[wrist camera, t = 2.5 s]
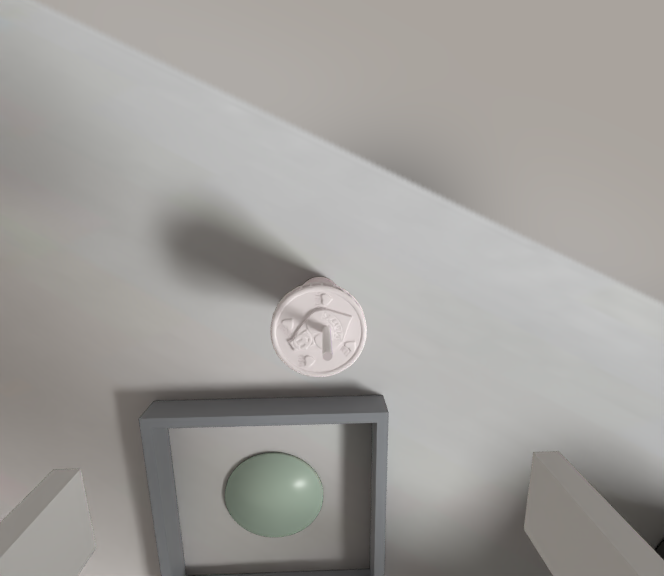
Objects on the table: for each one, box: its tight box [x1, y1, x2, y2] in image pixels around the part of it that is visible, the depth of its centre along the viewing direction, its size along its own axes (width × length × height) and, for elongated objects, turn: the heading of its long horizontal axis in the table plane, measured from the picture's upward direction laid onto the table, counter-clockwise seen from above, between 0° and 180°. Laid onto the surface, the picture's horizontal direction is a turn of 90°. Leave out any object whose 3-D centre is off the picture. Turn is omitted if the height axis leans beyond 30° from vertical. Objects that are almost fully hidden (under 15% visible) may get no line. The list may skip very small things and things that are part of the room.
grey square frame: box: [139, 395, 389, 576], centre depth 36 cm, size 22×22×3 cm
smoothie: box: [271, 277, 367, 377], centre depth 26 cm, size 6×6×14 cm
